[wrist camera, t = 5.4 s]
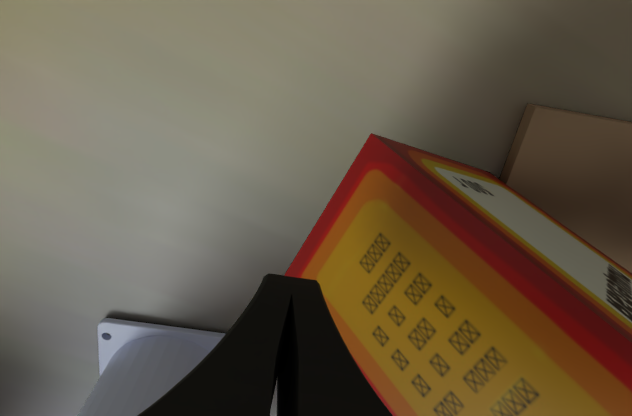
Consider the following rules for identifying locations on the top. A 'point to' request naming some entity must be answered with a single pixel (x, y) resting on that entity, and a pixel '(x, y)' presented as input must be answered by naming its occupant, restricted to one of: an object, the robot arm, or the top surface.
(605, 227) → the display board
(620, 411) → the baking soda box
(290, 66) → the top surface
